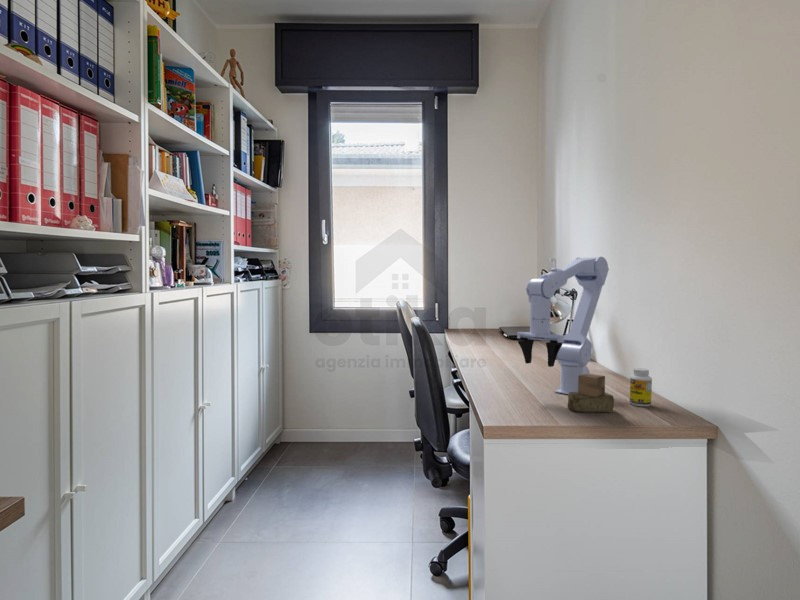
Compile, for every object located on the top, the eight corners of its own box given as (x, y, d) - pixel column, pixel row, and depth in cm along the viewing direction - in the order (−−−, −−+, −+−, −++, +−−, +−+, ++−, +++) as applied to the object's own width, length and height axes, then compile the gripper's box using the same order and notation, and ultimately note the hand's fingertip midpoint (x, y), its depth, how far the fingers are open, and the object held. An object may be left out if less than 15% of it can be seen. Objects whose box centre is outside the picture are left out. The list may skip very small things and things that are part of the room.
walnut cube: (587, 391, 141) (587, 373, 141) (604, 394, 137) (605, 375, 137) (578, 393, 138) (578, 375, 138) (595, 396, 134) (596, 378, 134)
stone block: (615, 413, 136) (615, 395, 136) (572, 413, 136) (572, 395, 136) (606, 408, 142) (606, 390, 142) (565, 408, 142) (565, 390, 142)
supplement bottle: (625, 403, 147) (626, 368, 146) (639, 401, 149) (639, 367, 149) (641, 408, 142) (642, 371, 141) (655, 406, 144) (656, 370, 144)
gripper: (511, 318, 153) (511, 363, 153) (555, 321, 142) (554, 369, 143) (524, 317, 158) (524, 360, 158) (568, 319, 147) (567, 366, 148)
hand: (539, 364), depth 151 cm, fingers open, 7 cm apart
